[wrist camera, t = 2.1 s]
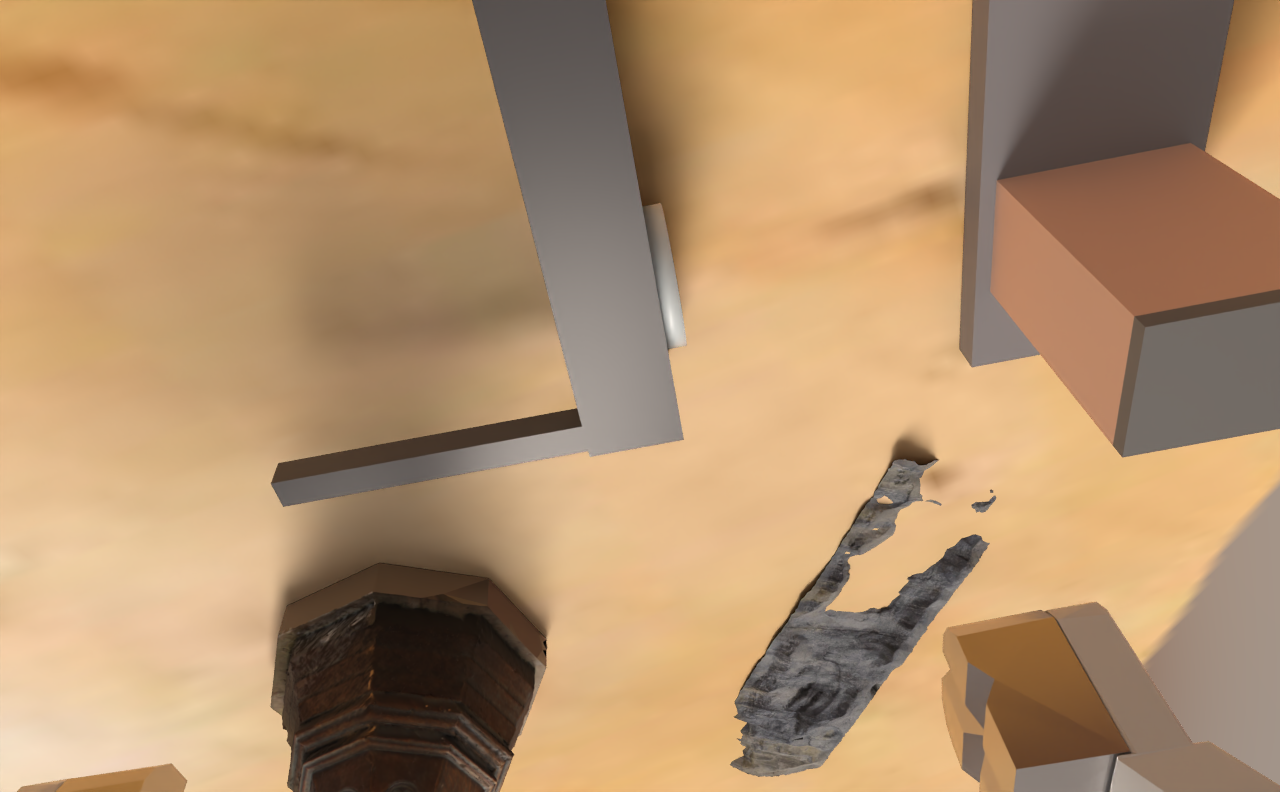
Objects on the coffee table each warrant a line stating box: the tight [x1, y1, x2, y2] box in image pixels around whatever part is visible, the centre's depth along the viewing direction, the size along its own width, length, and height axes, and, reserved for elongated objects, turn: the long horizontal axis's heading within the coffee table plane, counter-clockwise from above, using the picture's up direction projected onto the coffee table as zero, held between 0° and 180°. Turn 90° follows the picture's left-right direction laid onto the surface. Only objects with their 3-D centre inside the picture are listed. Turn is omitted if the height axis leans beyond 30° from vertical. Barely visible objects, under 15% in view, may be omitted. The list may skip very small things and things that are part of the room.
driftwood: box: [730, 459, 996, 777], centre depth 43 cm, size 21×7×2 cm, turn 158°
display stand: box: [960, 0, 1280, 457], centre depth 23 cm, size 7×24×10 cm, turn 10°
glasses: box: [271, 0, 687, 507], centre depth 26 cm, size 14×20×5 cm
